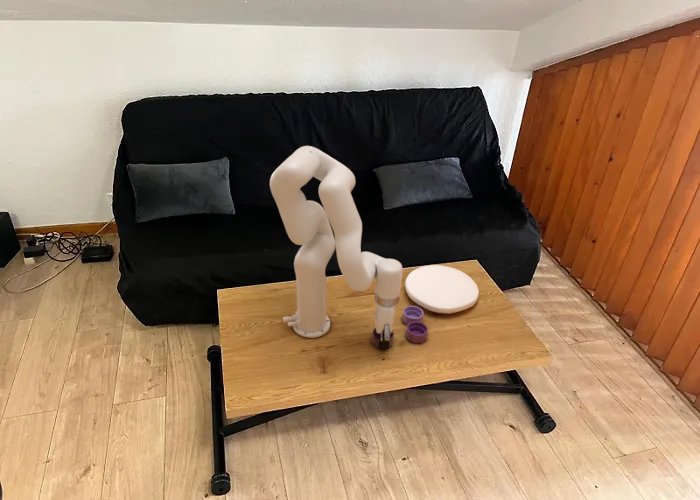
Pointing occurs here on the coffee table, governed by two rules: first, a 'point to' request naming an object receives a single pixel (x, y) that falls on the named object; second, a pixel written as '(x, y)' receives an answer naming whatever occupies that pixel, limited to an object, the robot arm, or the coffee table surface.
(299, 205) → the robot arm
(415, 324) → the plum dish
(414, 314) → the lilac dish
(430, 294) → the plate
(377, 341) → the aubergine dish
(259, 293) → the coffee table surface
